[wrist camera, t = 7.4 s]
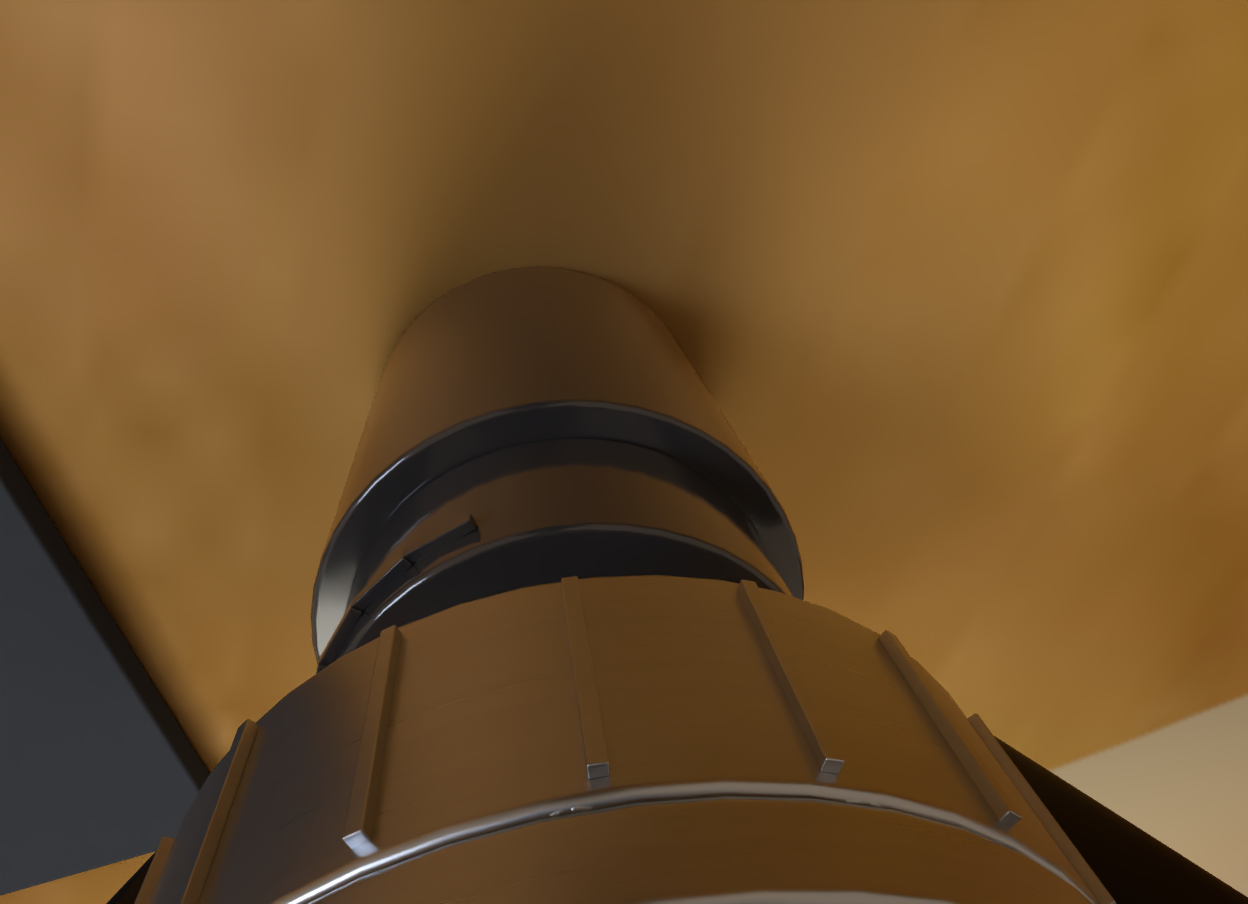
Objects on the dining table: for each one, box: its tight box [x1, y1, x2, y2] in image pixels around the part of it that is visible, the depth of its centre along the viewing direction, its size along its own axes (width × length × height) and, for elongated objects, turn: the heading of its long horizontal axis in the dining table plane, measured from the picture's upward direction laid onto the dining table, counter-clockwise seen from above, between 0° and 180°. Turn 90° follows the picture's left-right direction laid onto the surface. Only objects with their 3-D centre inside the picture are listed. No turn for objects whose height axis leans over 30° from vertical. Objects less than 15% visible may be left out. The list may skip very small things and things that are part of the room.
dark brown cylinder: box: [311, 267, 804, 674], centre depth 13 cm, size 6×6×8 cm
